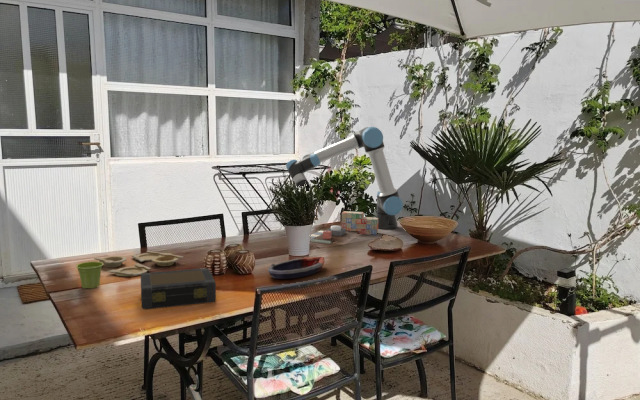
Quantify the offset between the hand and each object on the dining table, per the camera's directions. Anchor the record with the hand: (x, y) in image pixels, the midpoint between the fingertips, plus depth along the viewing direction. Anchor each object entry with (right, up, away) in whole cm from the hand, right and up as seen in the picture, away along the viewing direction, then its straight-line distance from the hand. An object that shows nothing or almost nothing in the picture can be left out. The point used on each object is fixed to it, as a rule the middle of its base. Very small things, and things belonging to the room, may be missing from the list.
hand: (318, 215), depth 276 cm
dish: (-8, -23, -63) cm, 68 cm away
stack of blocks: (+25, -11, +21) cm, 34 cm away
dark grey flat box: (-51, -27, -95) cm, 111 cm away
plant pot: (-88, -25, -84) cm, 124 cm away
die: (+5, -13, -1) cm, 14 cm away
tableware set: (-80, -21, -53) cm, 98 cm away
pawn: (-3, -2, +3) cm, 5 cm away
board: (+4, -13, +6) cm, 15 cm away
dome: (+10, -10, +9) cm, 17 cm away
